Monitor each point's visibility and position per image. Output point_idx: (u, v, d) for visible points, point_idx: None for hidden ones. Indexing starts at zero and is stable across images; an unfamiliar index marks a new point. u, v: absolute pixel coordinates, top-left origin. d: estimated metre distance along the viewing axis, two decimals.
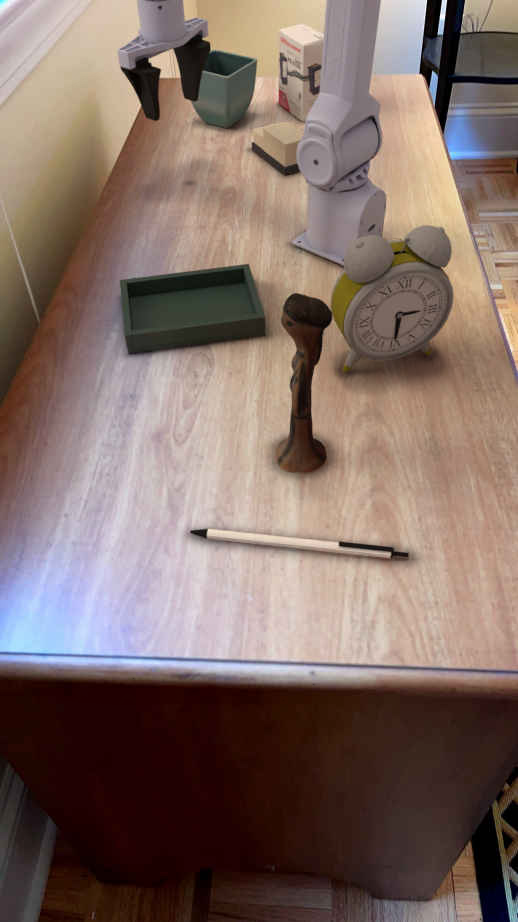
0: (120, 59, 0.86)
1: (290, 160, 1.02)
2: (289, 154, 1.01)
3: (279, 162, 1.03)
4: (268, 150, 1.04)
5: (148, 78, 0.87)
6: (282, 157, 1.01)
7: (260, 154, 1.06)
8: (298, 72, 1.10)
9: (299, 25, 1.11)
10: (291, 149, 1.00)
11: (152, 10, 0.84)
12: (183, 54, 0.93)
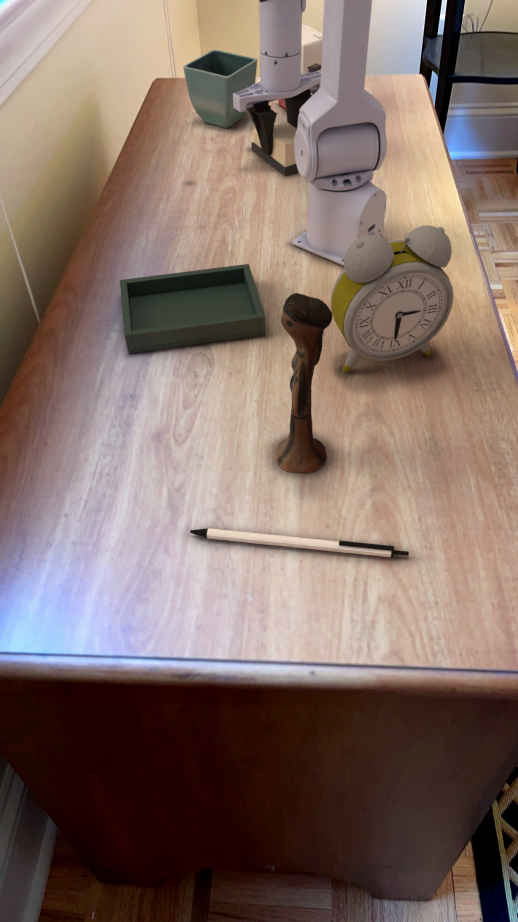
0: (234, 102, 0.97)
1: (290, 160, 1.02)
2: (289, 154, 1.01)
3: (279, 162, 1.03)
4: None
5: (263, 119, 0.98)
6: (282, 157, 1.01)
7: (260, 154, 1.06)
8: None
9: None
10: (291, 149, 1.00)
11: (269, 64, 0.94)
12: (291, 104, 1.02)
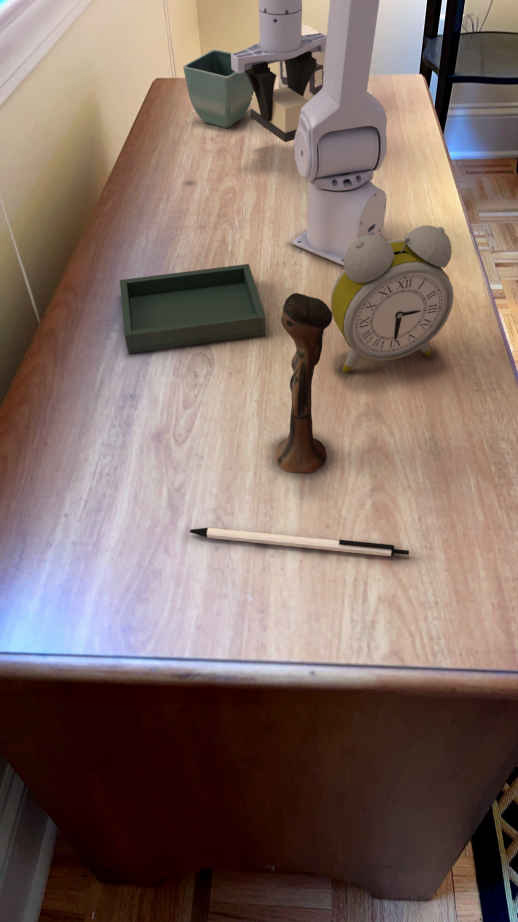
0: (232, 63, 0.93)
1: (290, 125, 0.98)
2: (289, 119, 0.97)
3: (279, 128, 0.99)
4: None
5: (262, 81, 0.94)
6: (282, 122, 0.97)
7: (259, 121, 1.03)
8: None
9: None
10: (291, 114, 0.96)
11: (268, 22, 0.90)
12: (291, 68, 0.98)
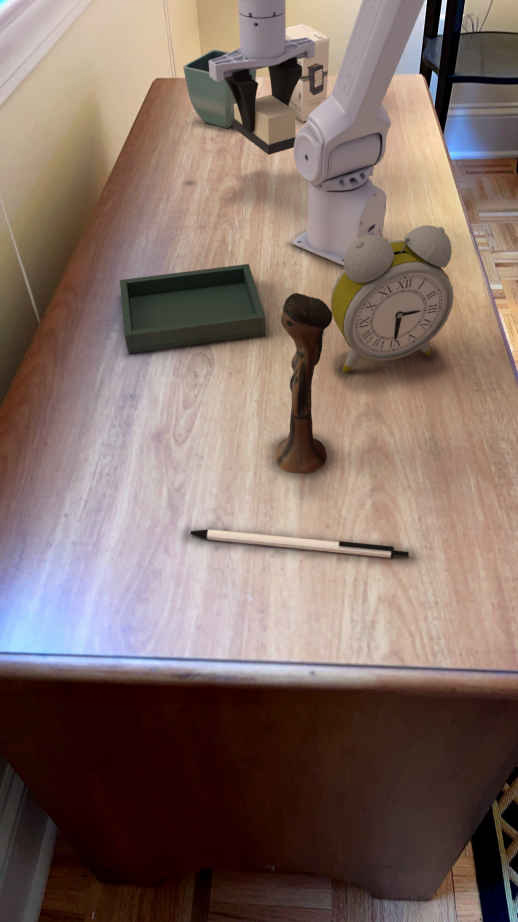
0: (210, 70, 0.86)
1: (274, 137, 0.91)
2: (273, 130, 0.90)
3: (262, 140, 0.92)
4: None
5: (243, 90, 0.87)
6: (265, 133, 0.90)
7: (241, 132, 0.95)
8: None
9: (299, 25, 1.11)
10: (275, 124, 0.89)
11: (249, 26, 0.83)
12: (275, 75, 0.91)
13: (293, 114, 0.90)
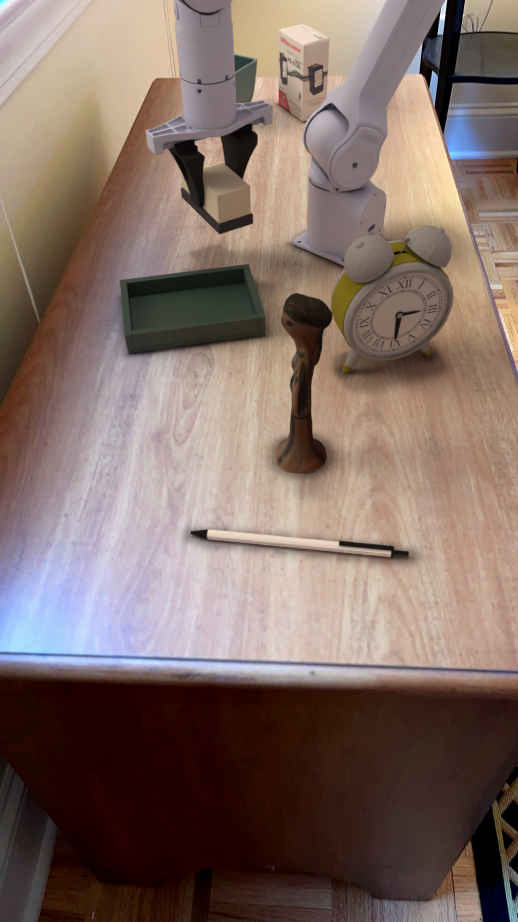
0: (148, 141, 0.73)
1: (225, 215, 0.78)
2: (223, 208, 0.77)
3: (212, 217, 0.79)
4: None
5: (187, 164, 0.74)
6: (215, 211, 0.78)
7: (191, 204, 0.83)
8: (298, 72, 1.10)
9: (299, 25, 1.11)
10: (225, 201, 0.77)
11: (191, 93, 0.70)
12: (227, 143, 0.78)
13: (247, 189, 0.77)
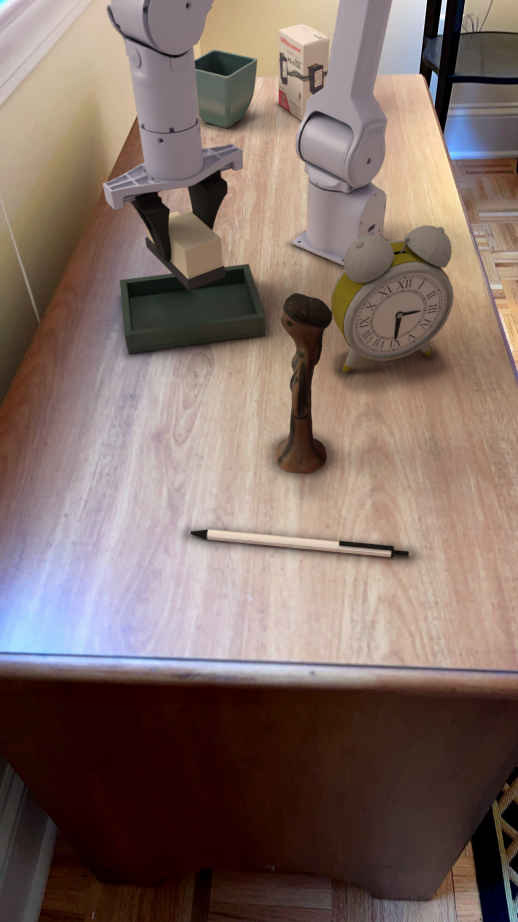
0: (106, 195, 0.66)
1: (194, 270, 0.71)
2: (192, 262, 0.70)
3: (180, 271, 0.72)
4: None
5: (150, 218, 0.67)
6: (183, 266, 0.71)
7: (157, 255, 0.76)
8: (298, 72, 1.10)
9: (299, 25, 1.11)
10: (194, 256, 0.70)
11: (151, 142, 0.63)
12: (194, 191, 0.71)
13: (217, 241, 0.70)
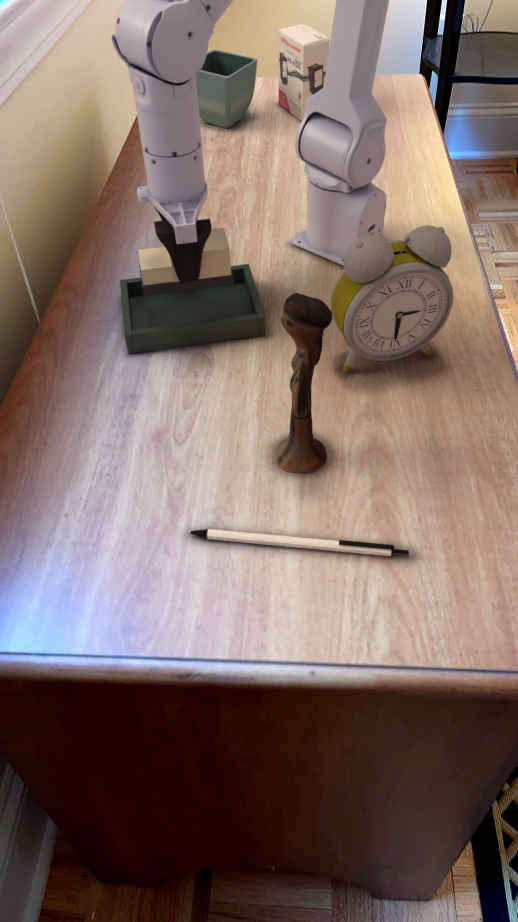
0: (180, 236, 0.65)
1: None
2: None
3: (216, 276, 0.75)
4: None
5: (209, 234, 0.69)
6: (224, 266, 0.74)
7: (168, 290, 0.75)
8: (298, 72, 1.10)
9: (299, 25, 1.11)
10: None
11: (188, 164, 0.65)
12: None
13: (224, 231, 0.76)
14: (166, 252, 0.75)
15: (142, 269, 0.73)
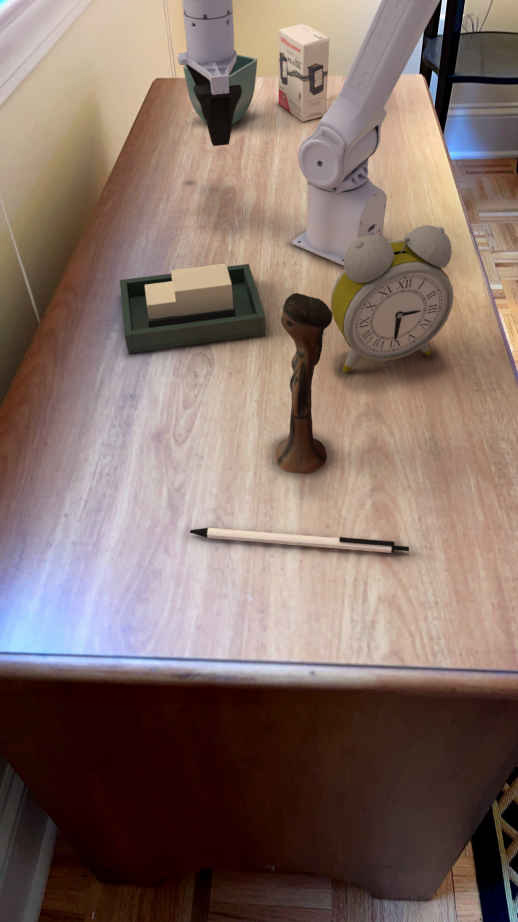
0: (215, 86, 0.79)
1: None
2: None
3: (218, 310, 0.79)
4: (191, 310, 0.78)
5: (240, 97, 0.81)
6: (226, 301, 0.78)
7: (173, 323, 0.79)
8: (298, 72, 1.10)
9: (299, 25, 1.11)
10: None
11: (222, 27, 0.78)
12: None
13: (226, 267, 0.79)
14: (171, 287, 0.79)
15: (148, 304, 0.77)
